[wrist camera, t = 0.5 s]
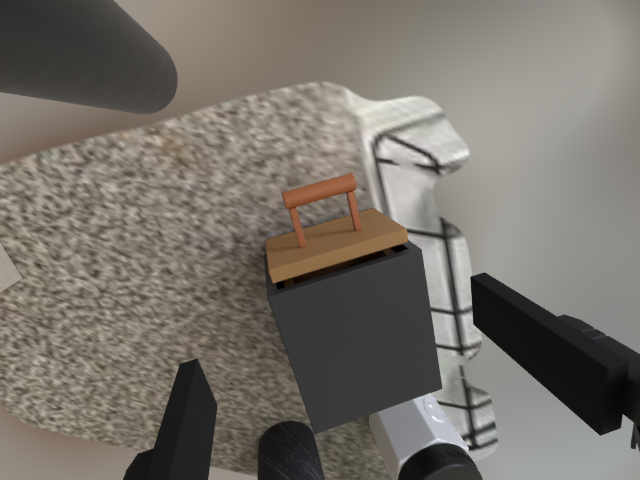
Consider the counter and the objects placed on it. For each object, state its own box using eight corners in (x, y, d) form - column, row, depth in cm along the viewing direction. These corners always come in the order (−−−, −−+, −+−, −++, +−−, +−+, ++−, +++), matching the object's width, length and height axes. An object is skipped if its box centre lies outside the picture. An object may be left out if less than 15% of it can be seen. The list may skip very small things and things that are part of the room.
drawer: (249, 191, 31) (248, 210, 24) (364, 159, 32) (397, 167, 25) (300, 349, 37) (311, 402, 30) (395, 318, 38) (428, 361, 31)
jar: (439, 388, 44) (502, 475, 33) (407, 435, 46) (457, 533, 35) (385, 369, 42) (434, 456, 30) (353, 419, 43) (388, 519, 32)
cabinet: (263, 253, 34) (267, 297, 25) (379, 219, 35) (421, 249, 26) (300, 365, 39) (314, 434, 30) (400, 331, 40) (442, 389, 31)
